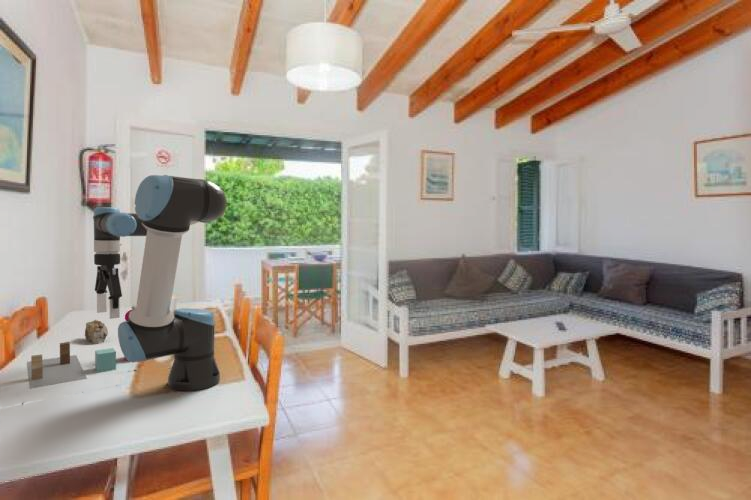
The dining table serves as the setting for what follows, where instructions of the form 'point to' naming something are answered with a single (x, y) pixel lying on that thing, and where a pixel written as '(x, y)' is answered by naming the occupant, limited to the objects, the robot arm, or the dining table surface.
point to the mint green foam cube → (105, 360)
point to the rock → (96, 331)
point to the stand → (57, 372)
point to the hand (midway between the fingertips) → (108, 315)
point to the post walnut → (64, 353)
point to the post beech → (36, 367)
